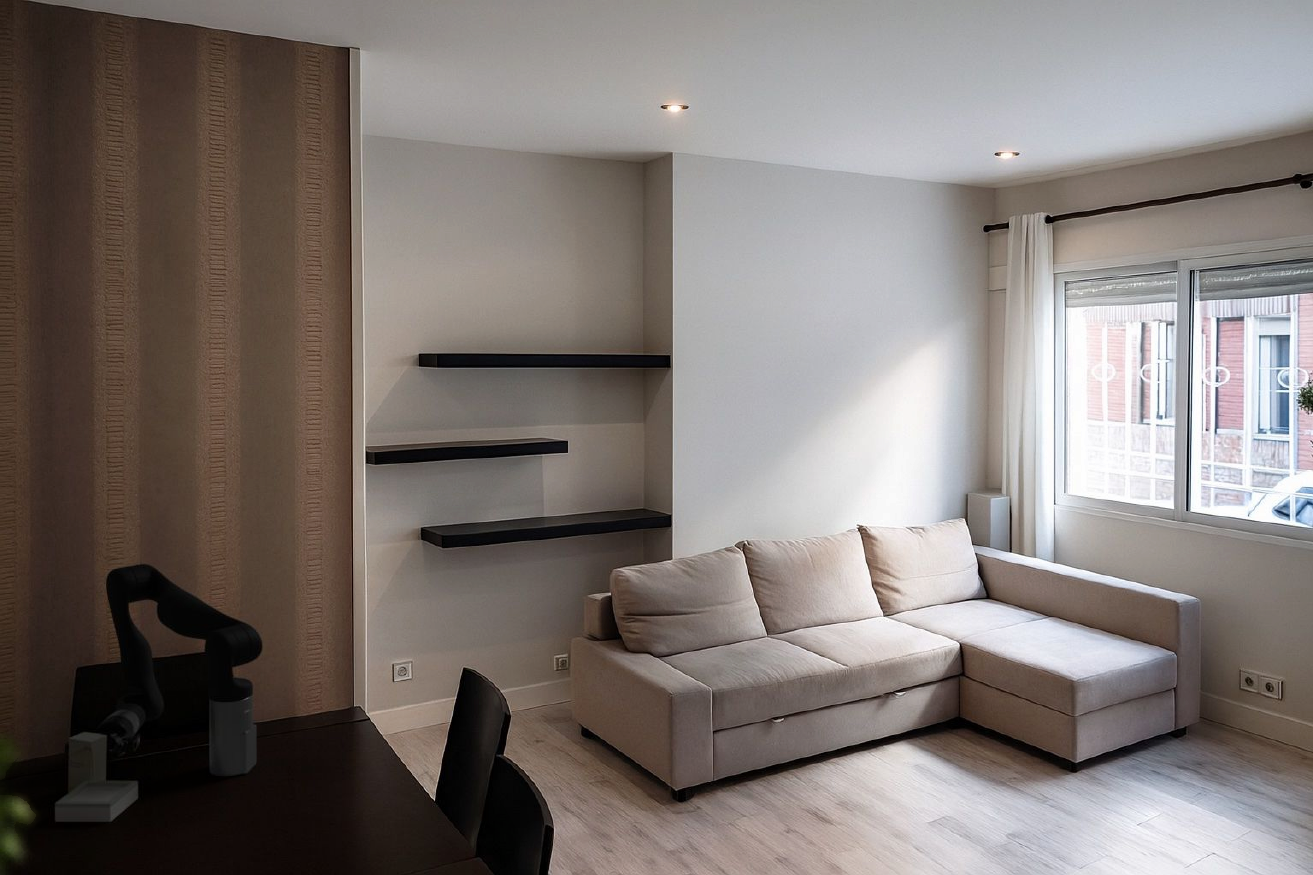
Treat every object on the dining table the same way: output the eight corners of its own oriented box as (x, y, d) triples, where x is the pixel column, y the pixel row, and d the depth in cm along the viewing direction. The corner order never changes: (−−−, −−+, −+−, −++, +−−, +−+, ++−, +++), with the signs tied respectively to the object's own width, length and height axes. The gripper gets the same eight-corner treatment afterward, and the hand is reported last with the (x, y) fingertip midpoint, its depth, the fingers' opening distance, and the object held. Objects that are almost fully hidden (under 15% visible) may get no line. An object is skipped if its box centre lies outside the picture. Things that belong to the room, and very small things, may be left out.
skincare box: (67, 793, 205) (66, 738, 204) (84, 784, 209) (83, 730, 208) (91, 796, 203) (90, 741, 203) (108, 788, 208) (107, 734, 207)
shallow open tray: (138, 797, 203) (137, 780, 203) (110, 821, 192) (110, 803, 192) (85, 797, 203) (85, 780, 202) (55, 821, 192) (54, 803, 192)
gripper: (83, 716, 222) (55, 742, 206) (149, 713, 225) (126, 738, 209) (84, 747, 223) (55, 775, 207) (150, 744, 226) (126, 771, 210)
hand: (91, 757), depth 208 cm, fingers open, 8 cm apart
